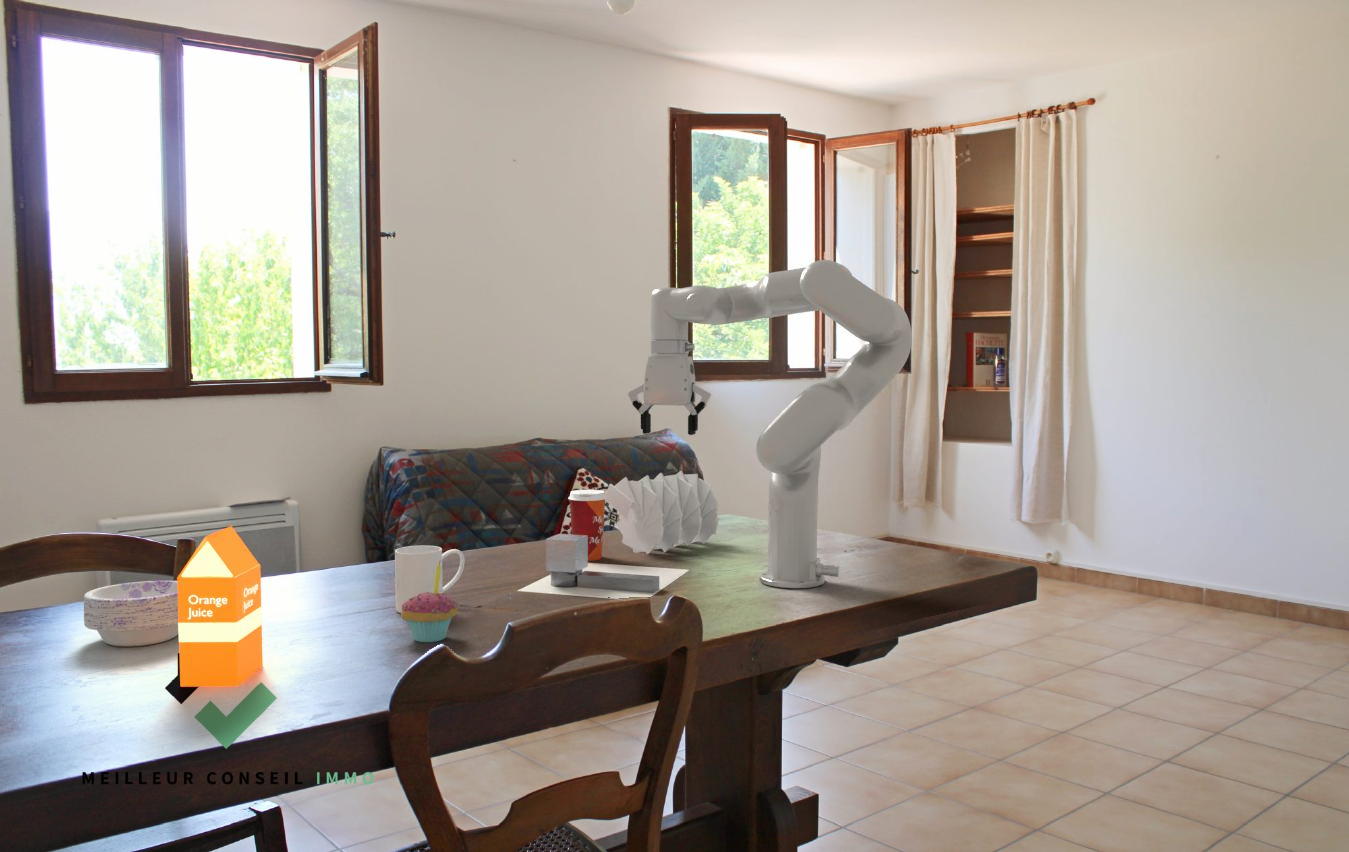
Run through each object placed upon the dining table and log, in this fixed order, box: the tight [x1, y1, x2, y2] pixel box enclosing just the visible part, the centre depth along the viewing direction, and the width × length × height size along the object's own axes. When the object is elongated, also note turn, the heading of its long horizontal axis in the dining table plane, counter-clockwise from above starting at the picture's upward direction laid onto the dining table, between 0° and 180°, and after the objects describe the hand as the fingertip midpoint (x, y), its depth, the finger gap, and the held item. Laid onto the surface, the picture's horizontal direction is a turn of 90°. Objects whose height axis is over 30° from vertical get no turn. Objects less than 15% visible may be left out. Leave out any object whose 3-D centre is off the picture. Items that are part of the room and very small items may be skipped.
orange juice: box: [176, 525, 264, 688], centre depth 136 cm, size 8×9×20 cm
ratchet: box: [550, 570, 659, 593], centre depth 188 cm, size 21×6×7 cm, turn 73°
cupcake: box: [400, 560, 458, 643], centre depth 155 cm, size 9×8×12 cm
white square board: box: [517, 562, 690, 600], centre depth 194 cm, size 25×28×1 cm
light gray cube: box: [545, 533, 589, 573], centre depth 190 cm, size 6×6×6 cm
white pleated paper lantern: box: [605, 470, 720, 555], centre depth 229 cm, size 18×18×25 cm
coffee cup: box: [567, 489, 606, 562], centre depth 216 cm, size 8×8×15 cm
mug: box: [394, 544, 466, 614], centre depth 174 cm, size 12×8×10 cm, turn 124°
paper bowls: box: [83, 580, 179, 648], centre depth 154 cm, size 15×15×8 cm
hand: (669, 433), depth 203 cm, fingers open, 9 cm apart
